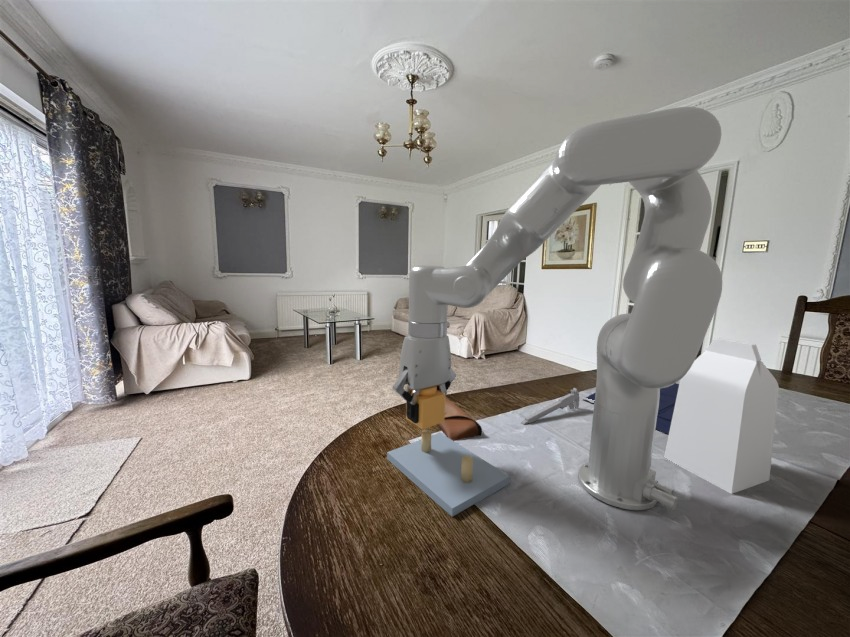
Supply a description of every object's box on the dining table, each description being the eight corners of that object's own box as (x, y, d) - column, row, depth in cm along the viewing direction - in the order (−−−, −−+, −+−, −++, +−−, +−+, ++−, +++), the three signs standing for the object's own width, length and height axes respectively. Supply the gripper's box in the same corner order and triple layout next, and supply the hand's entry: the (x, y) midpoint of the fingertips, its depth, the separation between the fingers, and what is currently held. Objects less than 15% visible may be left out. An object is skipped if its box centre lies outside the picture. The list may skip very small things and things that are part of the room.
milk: (663, 457, 72) (680, 336, 67) (699, 448, 76) (717, 333, 71) (731, 493, 61) (756, 351, 56) (769, 480, 65) (794, 346, 60)
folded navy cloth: (730, 408, 95) (731, 395, 94) (669, 445, 81) (670, 431, 81) (640, 381, 116) (641, 370, 115) (581, 407, 103) (581, 396, 102)
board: (509, 483, 63) (511, 456, 62) (452, 516, 54) (452, 485, 53) (439, 438, 78) (440, 416, 77) (387, 459, 70) (387, 433, 69)
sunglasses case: (419, 410, 93) (431, 388, 93) (439, 419, 96) (450, 398, 96) (451, 442, 76) (465, 416, 77) (473, 451, 80) (486, 426, 80)
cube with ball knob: (444, 421, 69) (445, 387, 68) (422, 429, 66) (423, 393, 65) (427, 412, 74) (428, 379, 72) (406, 418, 70) (406, 384, 69)
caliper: (575, 408, 96) (576, 386, 95) (578, 409, 96) (580, 387, 94) (520, 424, 86) (522, 400, 85) (524, 426, 86) (525, 401, 84)
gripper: (448, 322, 75) (445, 401, 78) (379, 330, 64) (379, 420, 67) (472, 328, 69) (468, 413, 72) (401, 338, 59) (399, 436, 62)
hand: (425, 415), depth 70 cm, fingers closed on cube with ball knob, 5 cm apart
